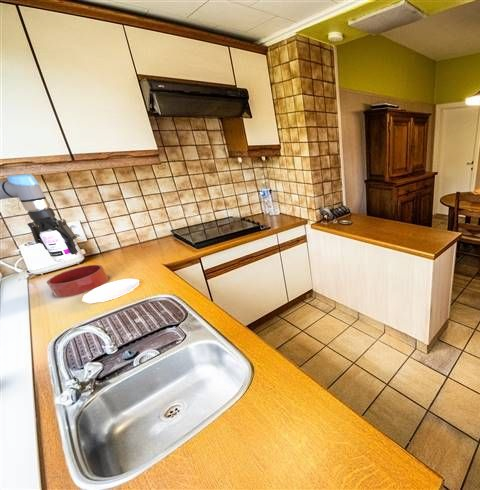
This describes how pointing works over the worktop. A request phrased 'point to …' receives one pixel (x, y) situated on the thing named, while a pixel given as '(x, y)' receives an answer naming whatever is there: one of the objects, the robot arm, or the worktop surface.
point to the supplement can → (56, 246)
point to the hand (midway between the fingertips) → (64, 254)
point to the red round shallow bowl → (77, 280)
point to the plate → (110, 291)
